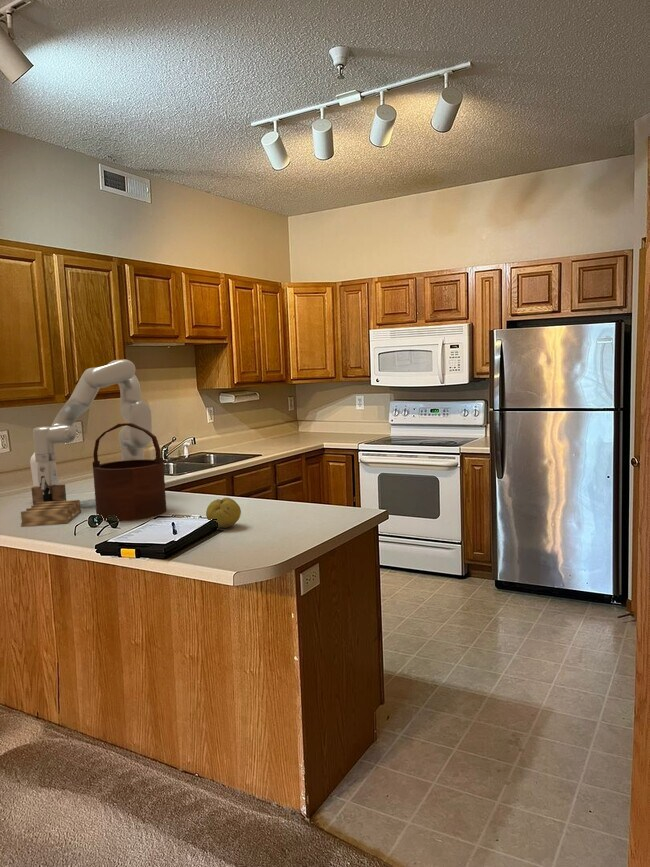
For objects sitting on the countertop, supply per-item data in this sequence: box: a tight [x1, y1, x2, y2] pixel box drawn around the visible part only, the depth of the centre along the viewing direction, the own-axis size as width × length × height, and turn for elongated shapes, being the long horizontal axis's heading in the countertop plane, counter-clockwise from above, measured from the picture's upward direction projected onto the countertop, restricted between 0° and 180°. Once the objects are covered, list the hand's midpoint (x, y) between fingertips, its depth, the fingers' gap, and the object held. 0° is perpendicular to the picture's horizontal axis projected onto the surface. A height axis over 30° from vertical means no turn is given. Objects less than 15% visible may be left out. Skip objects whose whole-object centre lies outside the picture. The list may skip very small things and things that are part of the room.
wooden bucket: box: [92, 422, 167, 522], centre depth 235 cm, size 26×26×35 cm
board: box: [31, 484, 67, 505], centre depth 246 cm, size 12×3×10 cm, turn 96°
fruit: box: [205, 497, 242, 529], centre depth 209 cm, size 11×12×10 cm
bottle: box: [29, 451, 39, 487], centre depth 265 cm, size 8×8×30 cm
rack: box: [20, 499, 82, 527], centre depth 231 cm, size 16×18×5 cm
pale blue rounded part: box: [80, 498, 96, 509], centre depth 256 cm, size 12×12×1 cm
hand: (49, 502), depth 246 cm, fingers closed on board, 3 cm apart
